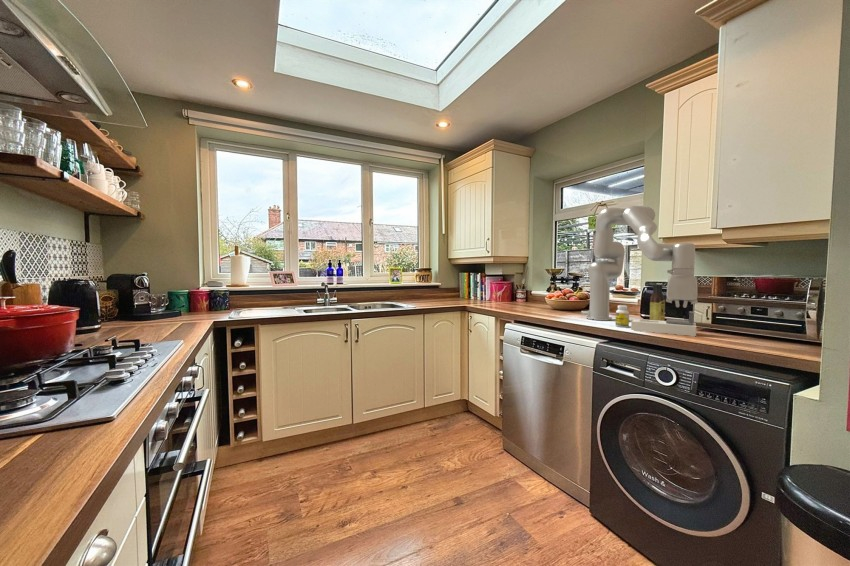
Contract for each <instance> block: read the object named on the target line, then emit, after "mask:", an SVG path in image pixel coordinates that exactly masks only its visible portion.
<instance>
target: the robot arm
mask: <svg viewBox="0 0 850 566" xmlns="http://www.w3.org/2000/svg"><path fill="white" fill-rule="evenodd" d="M655 219H656V212H655V210H654V209H653V207H650V206H646V205H645V206H643V205H642V206H641V205H631V206H628V207H627V208H620V207H607V208H606V207H605V208H604V209H602V210H600V211H599V213H598V214H597V216H596V219H595V237H594V247H593V256H594V257H595V258H597V259H604V260H598V261H597V260H596V261H593V262H591V263H590V264H589V266H588V267H587V268H588V271H587V272H588V276H589V277H588V278H589V309H588V310H581V313H580V314H581V315H585V317H586V319H587V318H588V320H592V319H594V320H593V321H612V320H613V317H610V291H611V289H610V283H609V281H608V280H612V279H614V280H615V279H619V277H620V276H621V275H622V274H623V268H624V261H625V253H626V250H625V246H624V245H623V243H622V242H619V241H614V234H615V233H614V230H613V227H612V225H614V226H616V225H617V226H629V227H630V229H632V231H633V232H634V233H635V234H636V235H637V239H636V240H637V241H636V242H637V247H638V248H639V249H638V250H640V252H642V254H643V255H644V256H645V257H646V258H647V259H648V260H650V261H653V262H671V269H668V270H667V274H670V275H669V277H668V279H667V286H666V298H665V303H670V304H672V305H673V306H675V307H676V316H678V318H684V316H686V308H687V307H689V306H690V305H694V304H695V305H697V304H698V303H699V302H698V291H699V290H698V278H697V276H695V265H696V264H695V263H696V262H695V259H696V246H695V244H694V243H692V242H677V243H674V244H673V243H658V242H656V240H655V239H654V238H653V237H652V235H653V234H655V232H656V231H657V229H658V225H657V224H656V223H655V222H654V221H655ZM605 259H606V260H607V259H608V260H607V261H606V260H605ZM680 301H683V304H682V305H680ZM586 315H587V316H586Z"/></svg>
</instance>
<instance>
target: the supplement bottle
mask: <svg viewBox="0 0 850 566" xmlns="http://www.w3.org/2000/svg"><path fill="white" fill-rule="evenodd" d="M617 326H619V327H618V328H628V327H629V326H630V311H629V310H628V305H622V304H619V305H617V310H616V311H615V327H617Z"/></svg>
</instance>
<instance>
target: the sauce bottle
mask: <svg viewBox="0 0 850 566" xmlns="http://www.w3.org/2000/svg"><path fill="white" fill-rule="evenodd" d="M652 289H653V290H652V294H651V295H650V301H649V320H659V321H666V320H665V318H666V314H665V313H666V312H665V310H666V298H665V297H664V293H663V283H653V284H652Z"/></svg>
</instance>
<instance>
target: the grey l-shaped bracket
mask: <svg viewBox="0 0 850 566" xmlns="http://www.w3.org/2000/svg"><path fill="white" fill-rule="evenodd" d="M688 315H689V316H688V320H687V319H684V320H683V319H670V318H667V319H666V320H665V321H666V323H674V324H687V325H693V324H694V323H695V322H694V311H691V310H690V311H688Z"/></svg>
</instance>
